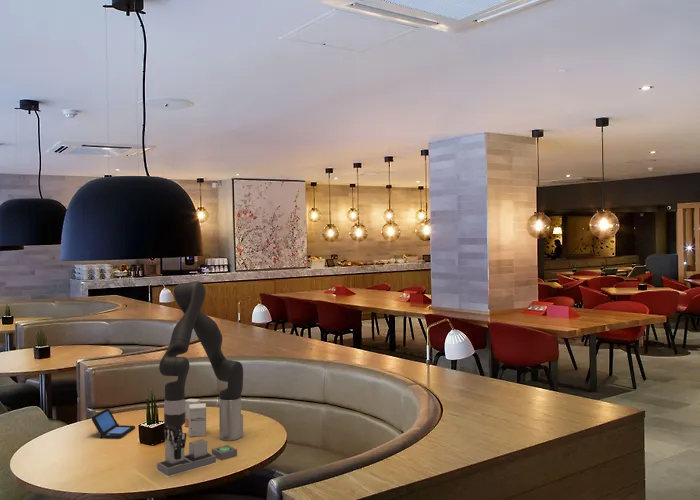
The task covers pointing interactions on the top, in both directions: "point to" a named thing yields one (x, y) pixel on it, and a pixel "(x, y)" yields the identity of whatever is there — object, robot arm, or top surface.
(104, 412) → the handheld game console
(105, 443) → the top surface
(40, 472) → the top surface
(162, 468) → the pocket tray
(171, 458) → the billet
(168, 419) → the robot arm
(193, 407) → the supplement box
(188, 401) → the skincare box
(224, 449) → the button
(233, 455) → the button housing
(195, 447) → the seated billet
